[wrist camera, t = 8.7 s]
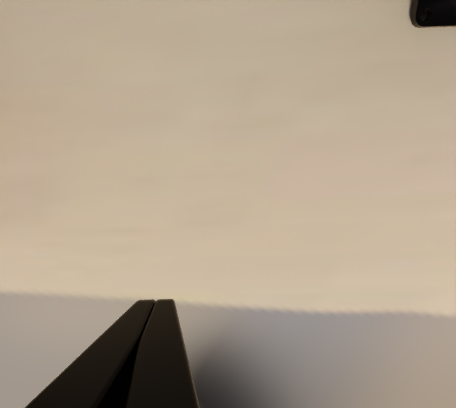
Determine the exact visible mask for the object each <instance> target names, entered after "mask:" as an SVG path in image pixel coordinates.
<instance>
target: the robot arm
mask: <svg viewBox="0 0 456 408" xmlns="http://www.w3.org/2000/svg"><path fill="white" fill-rule="evenodd" d="M423 10H425V11H426V13H427V16H426V19H425V20H424V21H423V20H422V19H421V13H422V11H423ZM411 22H412V25H414V26H415V27H418V28H425V27H456V0H414V2H413V8H412V13H411ZM25 408H199V404H198V399H197V395H196V391H195V387H194V382H193V378H192V374H191V370H190V365H189V361H188V357H187V353H186V349H185V344H184V340H183V336H182V331H181V327H180V323H179V318H178V314H177V310H176V306H175V302H174V300H173V299H159V300H157V301H155V300H139V301H137V302H136V303H135V304H134V305H132V306H131V307H130V308H129V309H128V310H127V311H126V312H125V313H124V314H123V315H122V316H121V317H120V318H119V319H118V320H117V321H116V322H115V323H114V324H113V325H112V326H110V327H109V328H108V329H107V330H106V331H105V332H104V333H103V334H102V335H101V336H100V337H99V338H98V339H97V340H96V341H95V342H93V344H91V345H90V346H89V347H88V348H87V349H86V350H85V351H84V352H83V353H82V354H81V355H80V356H79V357H78V358H77V359H76V360H75V361H73V362H72V363H71V364H70V365H69V366H68V367H67V368H66V369H65V370H64V371H63V372H62V373H61V374H60V375H59V376H58V377H57V378H56V379H54V380H53V381H52V382H51V383H50V384H49V385H48V386H47V387H46V388H45V389H44V390H43V391H42V392H41V393H40V394H39V395H38V396H37V397H36V398H34V399H33V400H32V401H31V402H30V403H29V404H28V405H27V406H26V407H25Z"/></svg>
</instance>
